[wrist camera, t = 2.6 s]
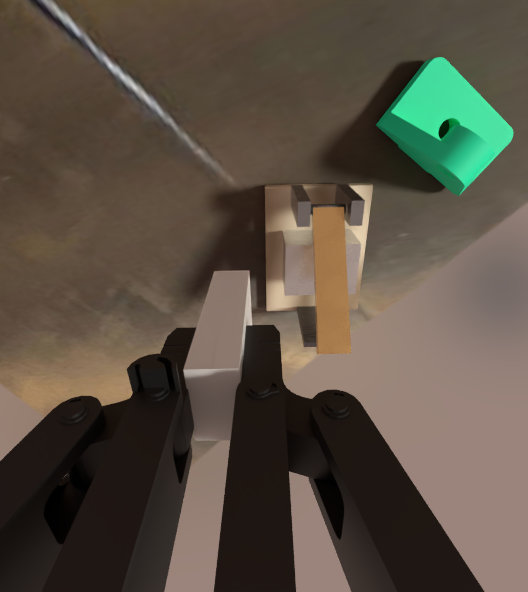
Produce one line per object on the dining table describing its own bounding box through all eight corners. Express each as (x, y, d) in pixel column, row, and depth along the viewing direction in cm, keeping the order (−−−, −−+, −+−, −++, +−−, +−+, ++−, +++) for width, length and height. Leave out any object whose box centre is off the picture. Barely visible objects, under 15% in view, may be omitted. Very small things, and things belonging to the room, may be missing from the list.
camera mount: (502, 131, 39) (576, 142, 30) (447, 190, 42) (499, 215, 33) (426, 54, 36) (484, 39, 27) (372, 124, 39) (408, 132, 30)
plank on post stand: (281, 310, 48) (286, 347, 41) (283, 185, 40) (288, 203, 33) (342, 309, 48) (357, 345, 41) (355, 183, 40) (376, 201, 33)
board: (266, 306, 49) (266, 311, 48) (264, 184, 41) (265, 187, 40) (355, 304, 49) (357, 309, 48) (370, 182, 41) (373, 185, 40)
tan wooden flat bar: (314, 353, 34) (316, 353, 33) (309, 206, 36) (310, 202, 35) (350, 352, 34) (353, 353, 33) (343, 205, 36) (345, 201, 35)
